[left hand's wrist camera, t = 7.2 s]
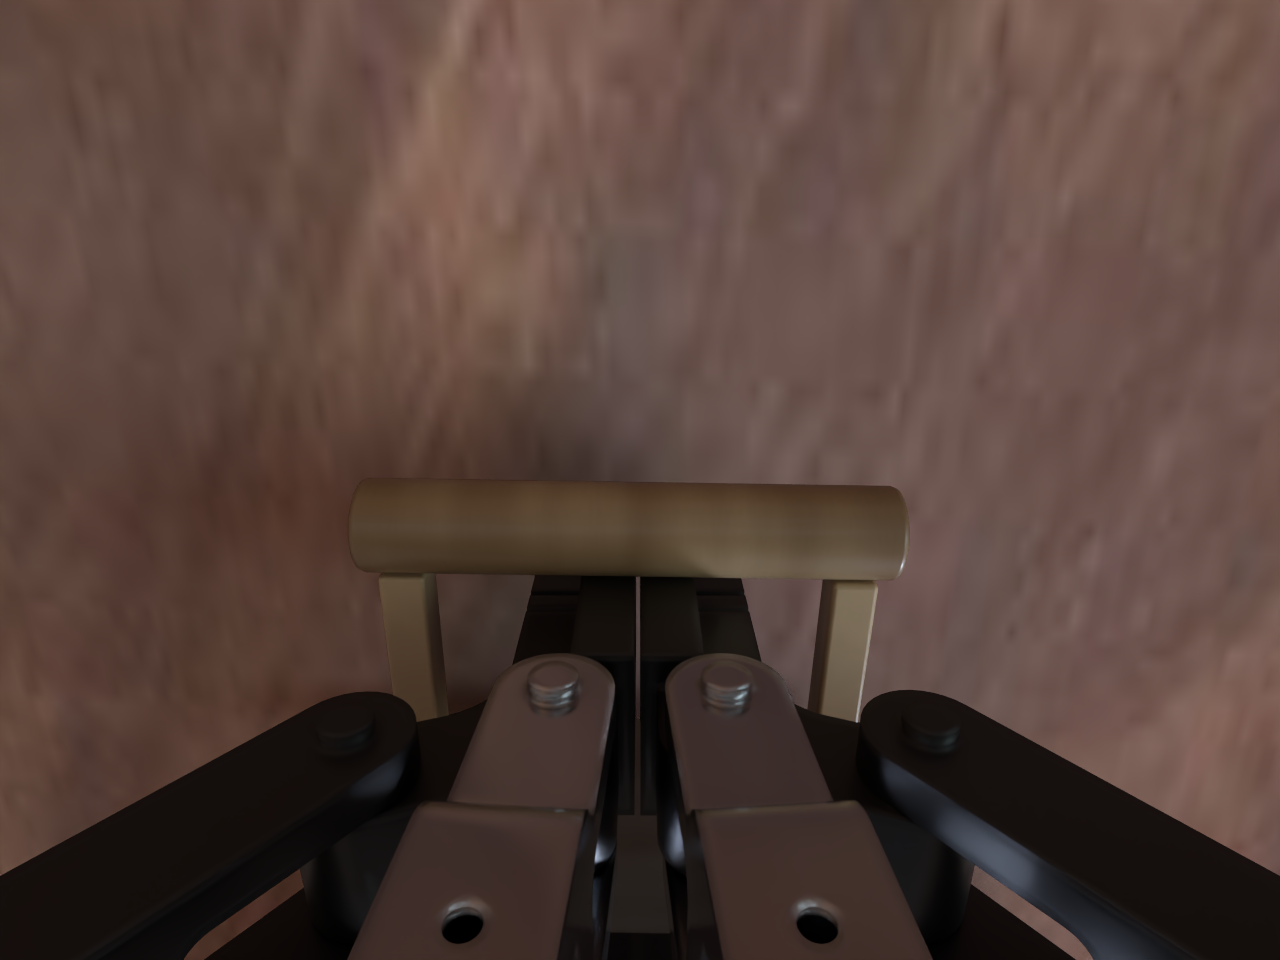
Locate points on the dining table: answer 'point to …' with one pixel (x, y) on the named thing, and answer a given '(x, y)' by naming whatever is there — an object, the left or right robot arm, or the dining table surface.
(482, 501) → the drawer
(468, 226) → the dining table surface
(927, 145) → the dining table surface
